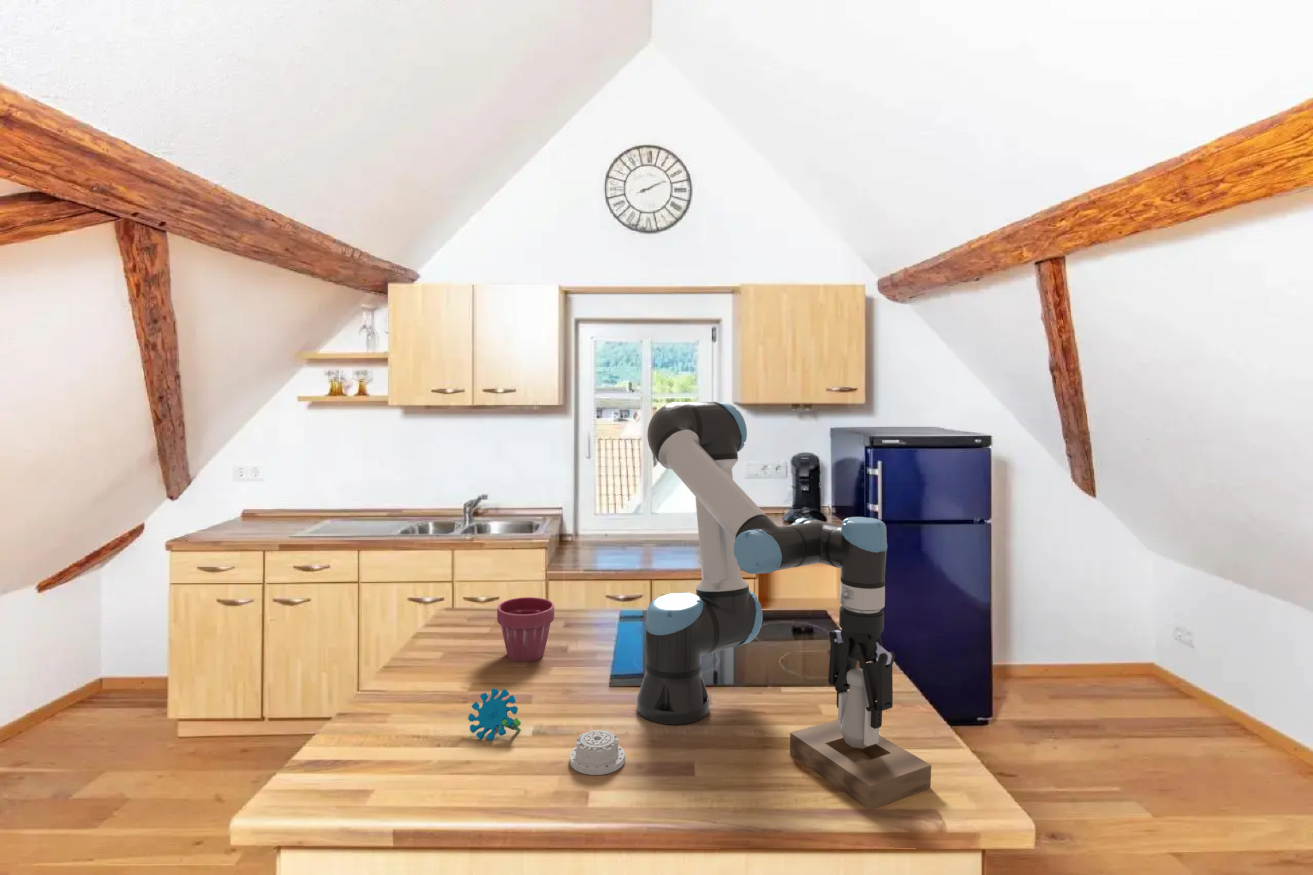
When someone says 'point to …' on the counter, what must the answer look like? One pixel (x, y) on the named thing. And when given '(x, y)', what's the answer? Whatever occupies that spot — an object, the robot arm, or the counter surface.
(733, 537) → the robot arm
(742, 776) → the counter surface
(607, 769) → the mechanical component
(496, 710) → the coronavirus model
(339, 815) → the counter surface
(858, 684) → the salt shaker
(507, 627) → the plant pot
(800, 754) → the stand
